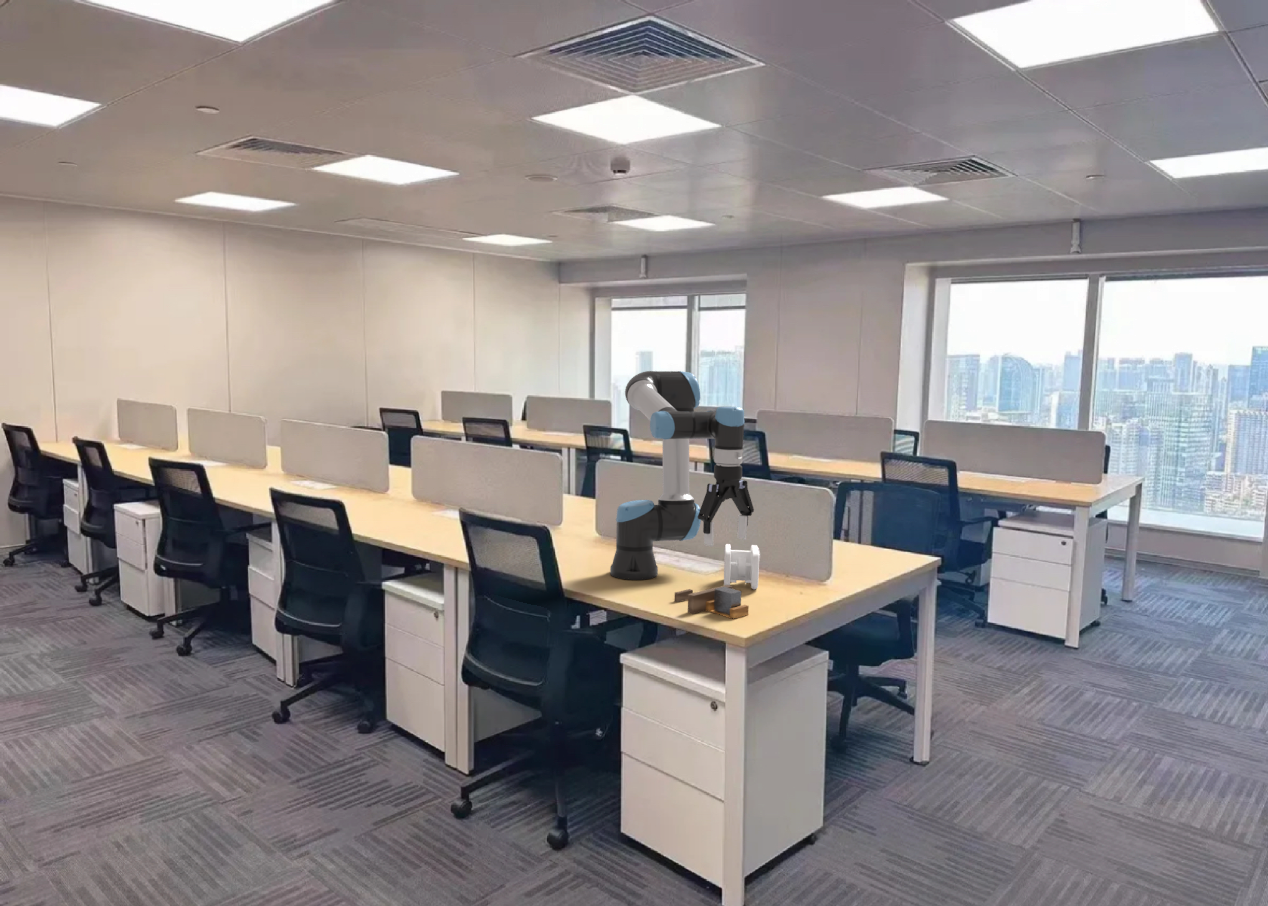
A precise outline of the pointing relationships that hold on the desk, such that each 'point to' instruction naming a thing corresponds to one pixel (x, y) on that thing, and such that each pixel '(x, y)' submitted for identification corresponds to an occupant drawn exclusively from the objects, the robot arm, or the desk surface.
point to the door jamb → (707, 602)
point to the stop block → (726, 599)
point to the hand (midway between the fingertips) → (725, 542)
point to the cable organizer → (741, 565)
